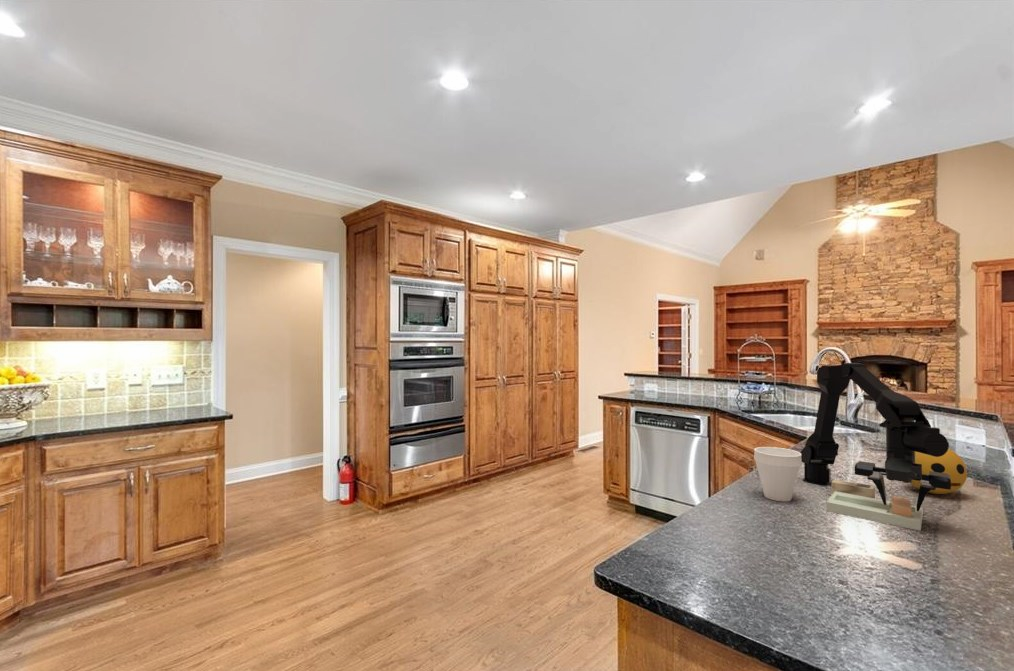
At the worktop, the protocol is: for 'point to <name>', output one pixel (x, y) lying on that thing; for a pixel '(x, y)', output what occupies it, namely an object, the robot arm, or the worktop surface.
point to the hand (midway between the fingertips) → (901, 507)
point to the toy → (943, 469)
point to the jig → (873, 510)
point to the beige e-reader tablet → (853, 488)
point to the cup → (777, 471)
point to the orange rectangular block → (901, 506)
